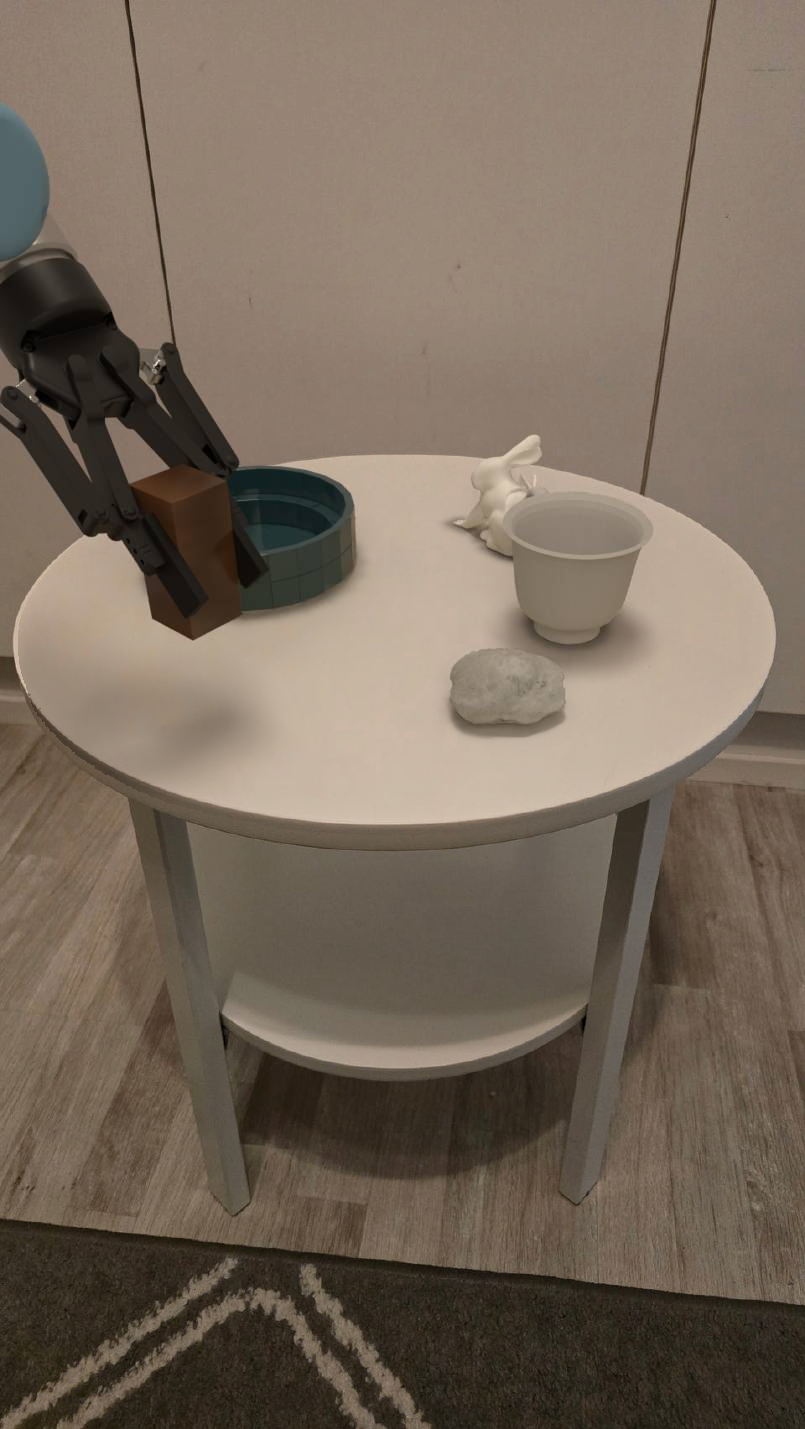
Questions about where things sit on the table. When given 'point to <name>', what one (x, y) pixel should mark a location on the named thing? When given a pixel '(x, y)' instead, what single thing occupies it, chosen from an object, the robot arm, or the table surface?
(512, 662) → the pebble
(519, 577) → the teacup
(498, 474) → the rabbit figurine
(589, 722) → the table surface
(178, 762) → the table surface
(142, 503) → the walnut block
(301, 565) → the bowl
